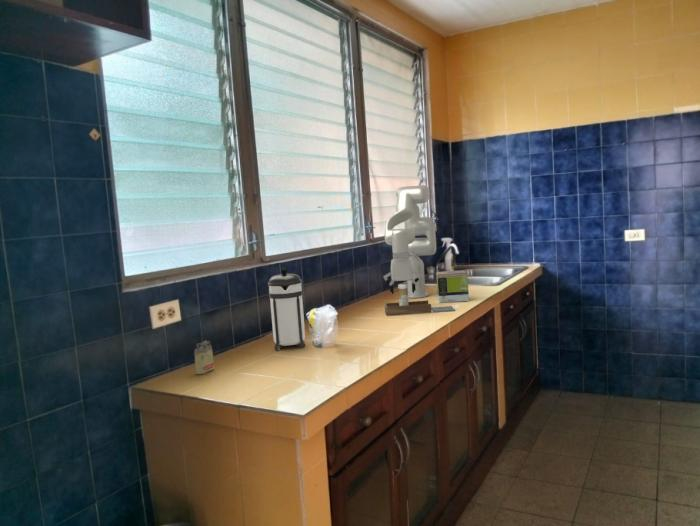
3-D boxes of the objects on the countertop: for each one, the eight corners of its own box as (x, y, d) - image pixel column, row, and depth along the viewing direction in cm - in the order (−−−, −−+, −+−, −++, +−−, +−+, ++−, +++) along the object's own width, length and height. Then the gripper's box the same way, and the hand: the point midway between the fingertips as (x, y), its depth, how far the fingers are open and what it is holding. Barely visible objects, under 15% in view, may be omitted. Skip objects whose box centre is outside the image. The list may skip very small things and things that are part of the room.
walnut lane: (384, 311, 263) (384, 303, 263) (428, 308, 263) (427, 300, 263) (386, 315, 253) (385, 307, 253) (431, 312, 253) (431, 304, 253)
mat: (430, 308, 263) (430, 307, 263) (451, 307, 263) (451, 306, 263) (433, 312, 253) (433, 311, 253) (455, 311, 253) (455, 310, 253)
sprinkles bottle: (398, 311, 260) (396, 283, 259) (408, 311, 261) (406, 283, 259) (400, 313, 256) (398, 285, 255) (410, 312, 256) (408, 284, 255)
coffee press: (319, 343, 211) (313, 265, 208) (287, 353, 199) (281, 270, 196) (290, 338, 223) (284, 264, 219) (258, 347, 211) (251, 269, 208)
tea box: (466, 298, 284) (465, 269, 283) (469, 301, 274) (467, 272, 273) (437, 299, 286) (435, 271, 284) (438, 303, 276) (437, 273, 274)
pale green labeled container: (202, 375, 179) (199, 345, 178) (193, 374, 181) (190, 344, 180) (216, 368, 185) (213, 339, 184) (207, 367, 187) (205, 339, 186)
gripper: (418, 254, 259) (420, 290, 261) (381, 257, 259) (383, 293, 261) (420, 255, 252) (422, 292, 253) (382, 258, 252) (384, 295, 253)
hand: (402, 292), depth 257 cm, fingers open, 9 cm apart
